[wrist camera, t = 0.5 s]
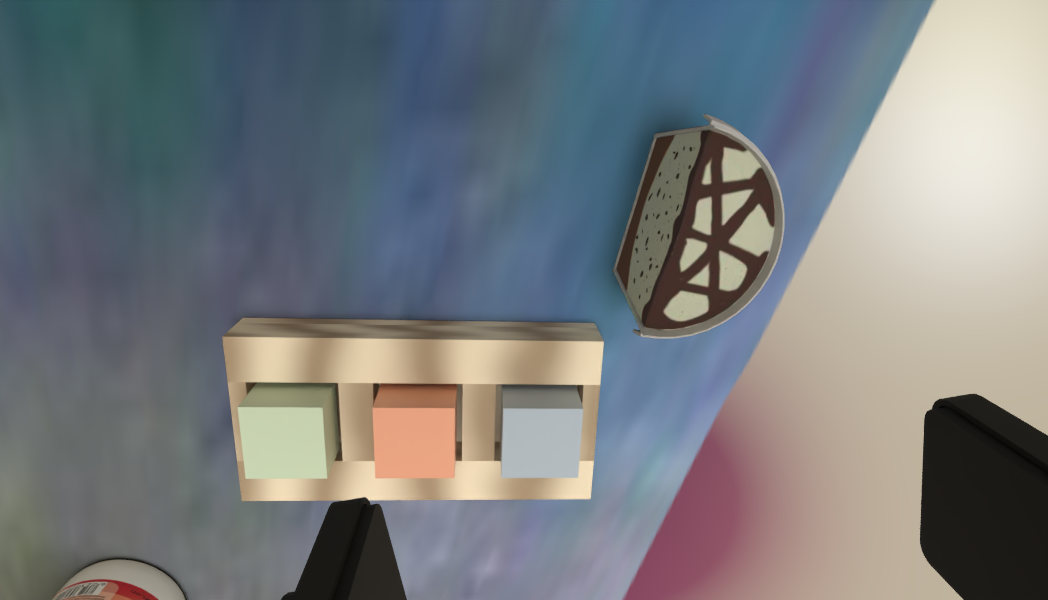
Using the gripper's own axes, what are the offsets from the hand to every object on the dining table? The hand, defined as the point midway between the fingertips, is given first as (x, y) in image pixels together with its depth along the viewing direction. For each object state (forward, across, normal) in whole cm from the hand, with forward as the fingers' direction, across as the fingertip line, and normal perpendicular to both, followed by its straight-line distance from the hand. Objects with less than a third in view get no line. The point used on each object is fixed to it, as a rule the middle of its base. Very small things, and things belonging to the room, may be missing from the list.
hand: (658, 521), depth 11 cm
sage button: (+29, +18, +10) cm, 36 cm away
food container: (+32, -9, +2) cm, 34 cm away
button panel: (+32, +10, +12) cm, 36 cm away
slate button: (+30, +2, +14) cm, 33 cm away
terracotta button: (+30, +10, +12) cm, 33 cm away
